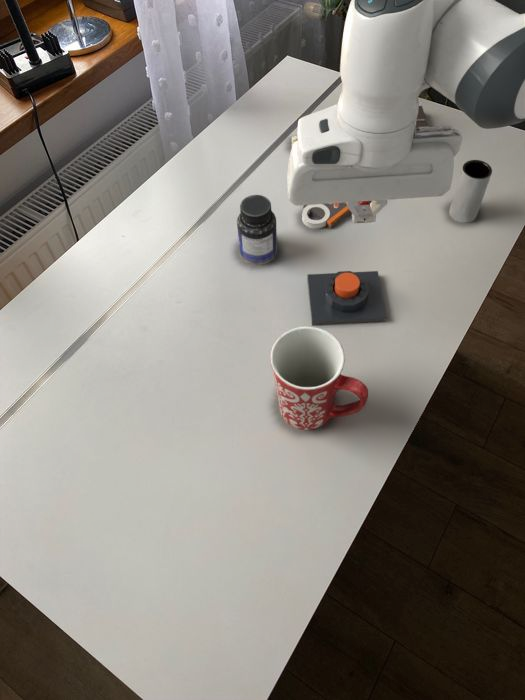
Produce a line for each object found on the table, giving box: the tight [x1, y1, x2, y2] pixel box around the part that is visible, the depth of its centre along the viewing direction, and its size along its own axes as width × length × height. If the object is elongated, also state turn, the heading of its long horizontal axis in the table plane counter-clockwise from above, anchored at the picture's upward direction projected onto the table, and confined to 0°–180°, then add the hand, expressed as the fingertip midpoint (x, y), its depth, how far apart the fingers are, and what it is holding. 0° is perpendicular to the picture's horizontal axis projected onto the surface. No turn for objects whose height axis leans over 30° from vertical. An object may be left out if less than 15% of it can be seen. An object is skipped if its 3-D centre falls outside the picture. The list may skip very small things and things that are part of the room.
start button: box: [335, 273, 360, 299], centre depth 89 cm, size 4×4×2 cm
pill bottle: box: [236, 194, 278, 266], centre depth 95 cm, size 6×6×11 cm
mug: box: [269, 326, 369, 431], centre depth 77 cm, size 13×9×14 cm
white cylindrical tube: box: [448, 159, 493, 224], centre depth 98 cm, size 4×4×10 cm
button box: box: [306, 270, 387, 327], centre depth 91 cm, size 11×9×4 cm
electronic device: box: [301, 201, 371, 230], centre depth 104 cm, size 7×3×15 cm
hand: (363, 219), depth 80 cm, fingers closed
